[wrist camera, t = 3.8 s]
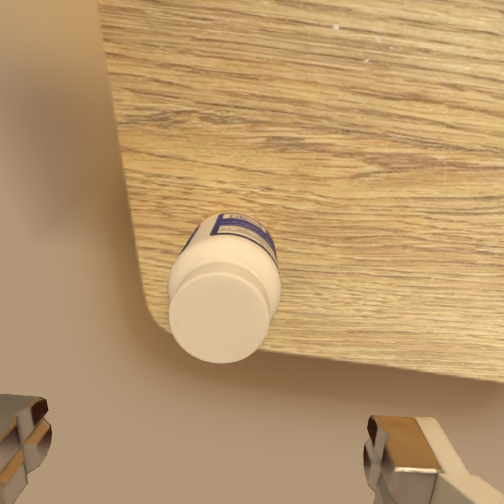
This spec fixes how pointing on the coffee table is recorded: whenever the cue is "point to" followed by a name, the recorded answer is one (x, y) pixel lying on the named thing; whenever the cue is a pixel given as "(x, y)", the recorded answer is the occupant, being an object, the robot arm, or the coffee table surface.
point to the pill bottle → (224, 288)
